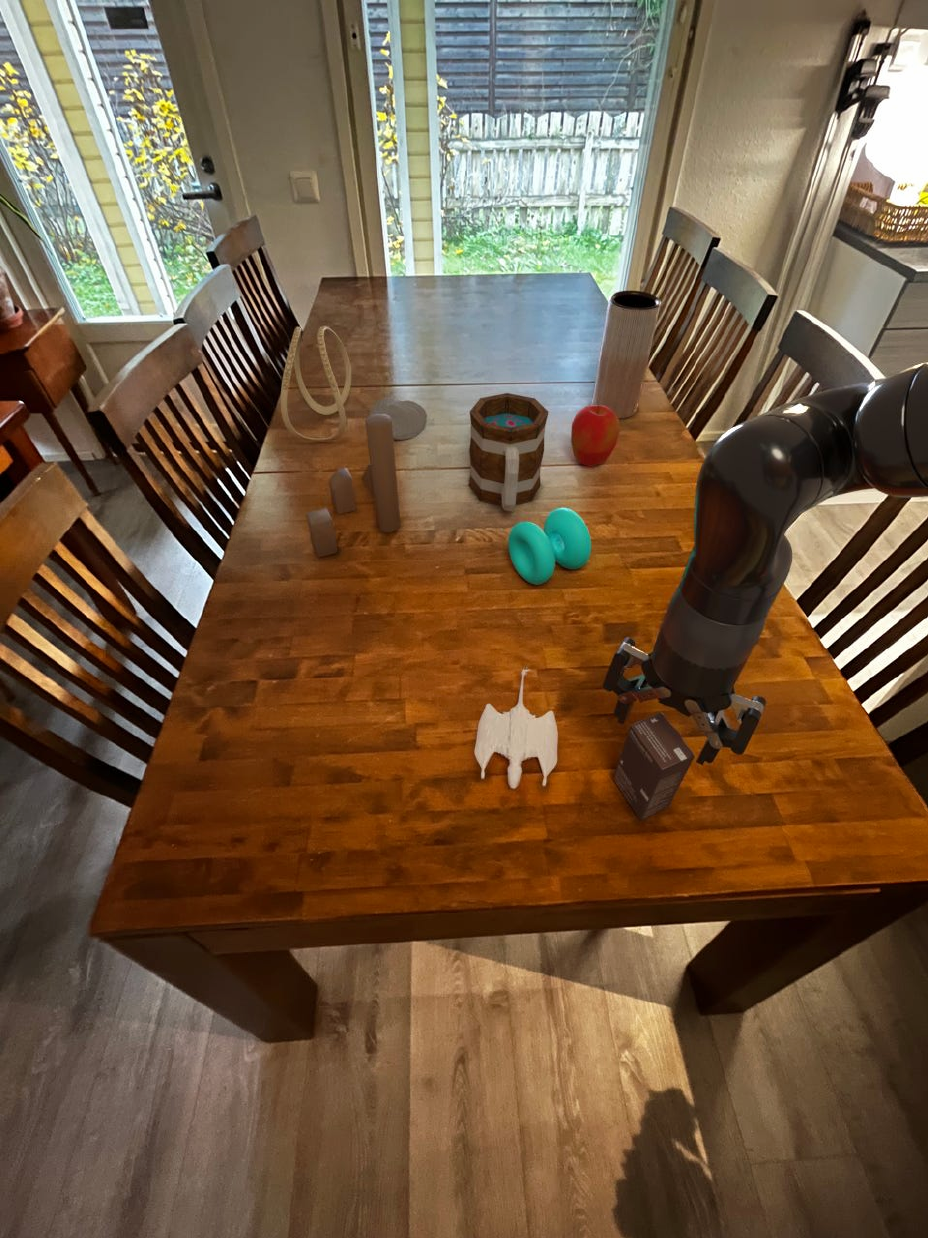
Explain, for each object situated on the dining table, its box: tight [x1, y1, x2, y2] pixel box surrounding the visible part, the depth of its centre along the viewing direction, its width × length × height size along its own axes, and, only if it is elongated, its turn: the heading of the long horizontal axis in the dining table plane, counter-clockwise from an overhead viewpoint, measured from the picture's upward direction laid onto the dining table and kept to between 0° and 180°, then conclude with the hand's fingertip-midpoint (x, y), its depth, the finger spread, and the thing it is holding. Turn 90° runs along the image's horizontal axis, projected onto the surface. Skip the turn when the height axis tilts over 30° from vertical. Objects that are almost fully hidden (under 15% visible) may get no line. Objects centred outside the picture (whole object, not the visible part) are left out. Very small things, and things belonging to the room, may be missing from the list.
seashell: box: [369, 396, 428, 441], centre depth 130 cm, size 12×6×10 cm
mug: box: [468, 392, 549, 512], centre depth 110 cm, size 20×14×15 cm
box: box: [612, 712, 696, 821], centre depth 69 cm, size 6×4×12 cm
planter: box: [591, 290, 662, 419], centre depth 130 cm, size 10×10×23 cm
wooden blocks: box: [305, 414, 401, 558], centre depth 104 cm, size 17×20×20 cm
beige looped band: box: [280, 325, 352, 443], centre depth 125 cm, size 22×12×20 cm, turn 4°
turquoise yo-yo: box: [507, 507, 592, 585], centre depth 97 cm, size 10×10×10 cm
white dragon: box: [473, 665, 559, 789], centre depth 78 cm, size 18×10×4 cm, turn 172°
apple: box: [570, 404, 621, 467], centre depth 119 cm, size 9×9×12 cm
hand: (661, 737), depth 65 cm, fingers open, 8 cm apart
